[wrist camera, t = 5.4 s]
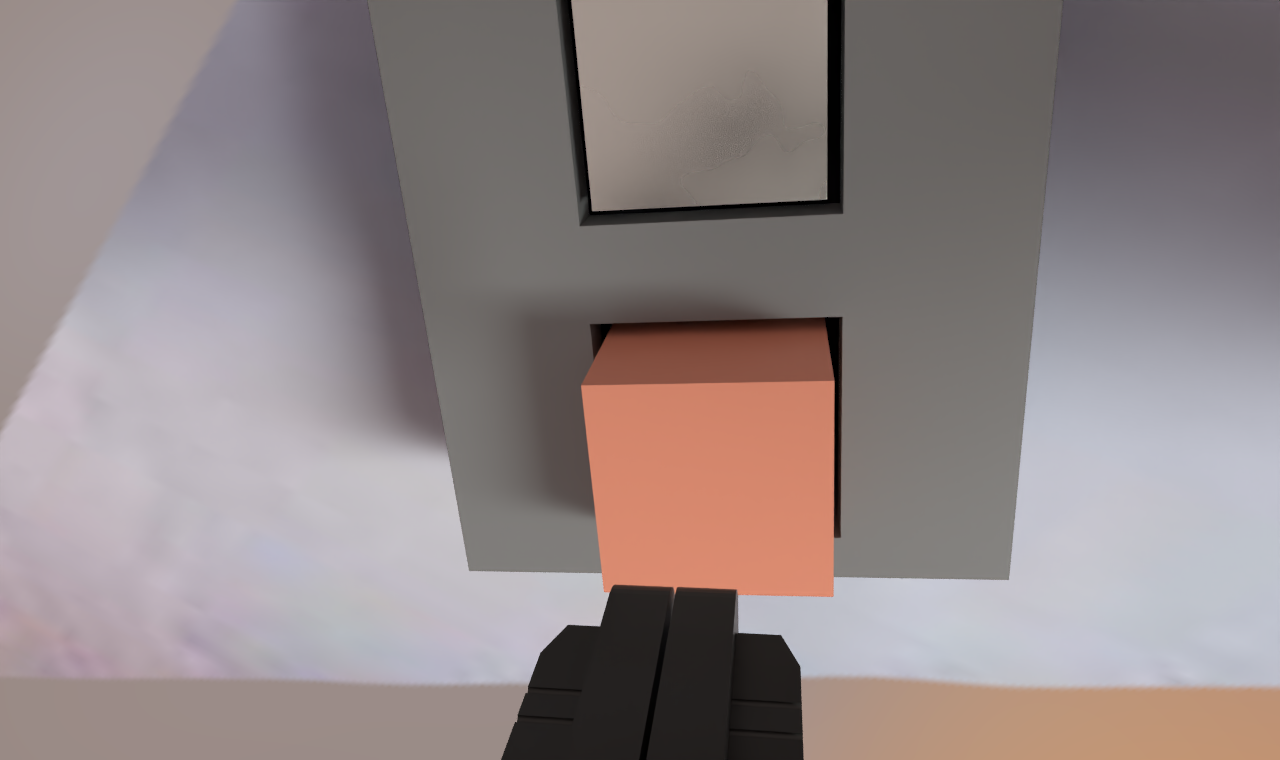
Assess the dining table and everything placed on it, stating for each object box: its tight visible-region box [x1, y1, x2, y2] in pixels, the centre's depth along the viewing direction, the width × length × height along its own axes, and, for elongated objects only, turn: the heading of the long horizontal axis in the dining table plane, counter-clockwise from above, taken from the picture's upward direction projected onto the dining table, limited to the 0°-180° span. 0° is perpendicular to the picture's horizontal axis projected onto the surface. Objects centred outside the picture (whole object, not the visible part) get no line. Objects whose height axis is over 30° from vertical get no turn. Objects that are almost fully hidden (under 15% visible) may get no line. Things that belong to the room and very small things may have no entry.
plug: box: [571, 0, 827, 211], centre depth 18 cm, size 4×4×4 cm
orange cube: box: [581, 317, 834, 597], centre depth 18 cm, size 4×4×4 cm
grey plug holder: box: [367, 0, 1063, 580], centre depth 19 cm, size 12×14×5 cm
